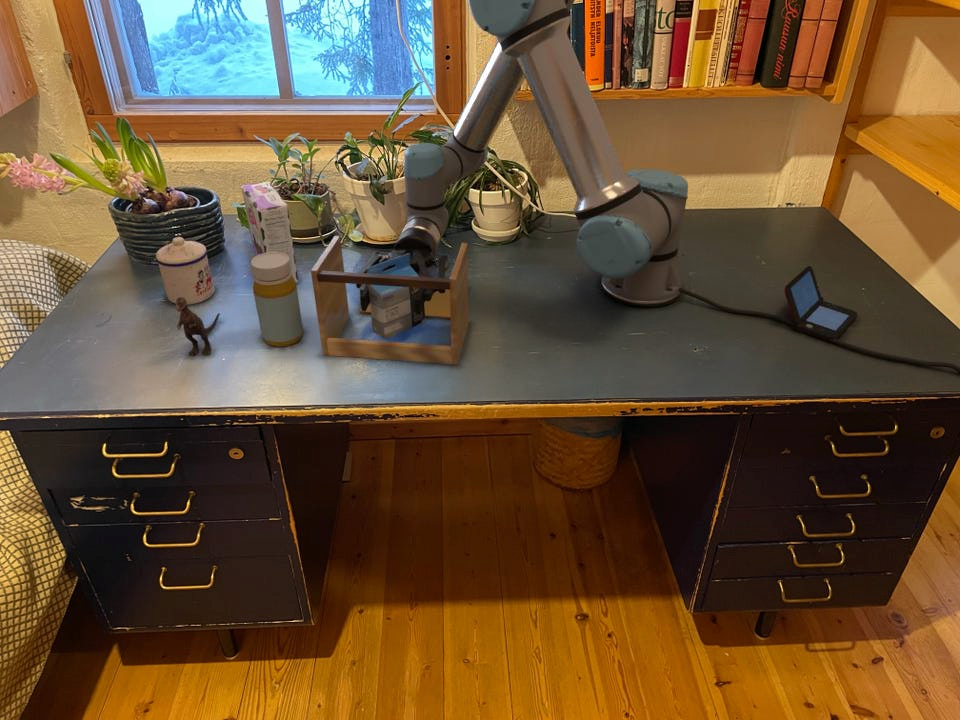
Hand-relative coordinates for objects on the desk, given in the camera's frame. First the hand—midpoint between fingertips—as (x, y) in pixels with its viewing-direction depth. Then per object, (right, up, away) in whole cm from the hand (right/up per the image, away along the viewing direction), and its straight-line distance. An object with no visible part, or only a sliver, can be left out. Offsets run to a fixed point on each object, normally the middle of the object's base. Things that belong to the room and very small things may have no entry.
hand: (390, 305), depth 121 cm
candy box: (-27, +9, +29) cm, 41 cm away
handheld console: (+76, -2, +14) cm, 77 cm away
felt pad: (+2, +2, +20) cm, 20 cm away
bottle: (-20, -5, +9) cm, 22 cm away
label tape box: (+1, -3, +8) cm, 9 cm away
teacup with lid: (-41, +4, +22) cm, 47 cm away
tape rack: (0, -5, +8) cm, 10 cm away
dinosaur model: (-33, -6, +7) cm, 34 cm away
